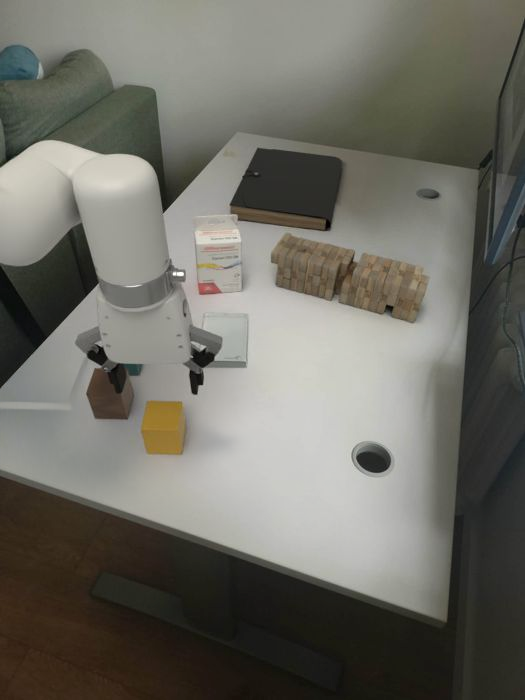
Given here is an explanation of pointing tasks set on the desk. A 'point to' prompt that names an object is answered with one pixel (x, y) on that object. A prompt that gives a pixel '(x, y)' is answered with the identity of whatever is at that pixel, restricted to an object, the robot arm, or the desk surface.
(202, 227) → the ink cartridge box
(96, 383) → the walnut block
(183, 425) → the yellow block
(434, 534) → the desk surface
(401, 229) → the desk surface
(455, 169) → the desk surface
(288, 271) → the block tower
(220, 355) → the hard drive
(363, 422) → the desk surface
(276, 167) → the black book
